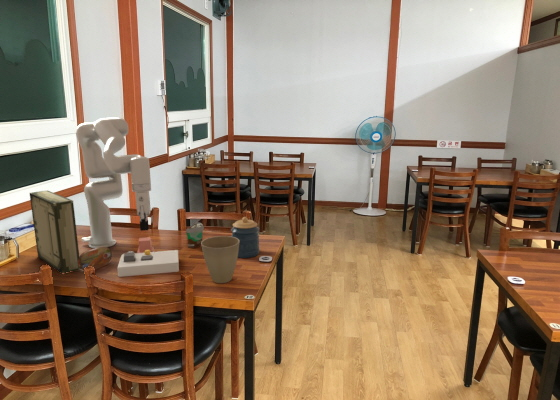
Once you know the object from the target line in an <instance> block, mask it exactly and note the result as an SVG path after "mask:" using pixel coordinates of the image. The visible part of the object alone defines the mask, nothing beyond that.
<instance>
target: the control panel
mask: <svg viewBox="0 0 560 400" xmlns="http://www.w3.org/2000/svg"><path fill="white" fill-rule="evenodd" d="M29 199H30V208H31V215H32V221H33V228H34V229H33V230H34V236H35V238H34V239H35V246H36V249H37V250H36V251H37V258H39V259H40V260H42V261H43V262H44V263H45V264H47V265H48V264H49V266H50V267H51V268H53V269H54V268H55V269H56V270H55V269H54V270H55V271H57V270H58V271H59V272H61V273H66V272H70V271H74V272H77V271H76V270H78V271H82V269H80V268H79V266H78V258H79V256H80V252H79V251H80V250H79V241H78V234H77V233H78V232H77V224H76V214H75V205H74V200H73V199H70V198H68V197H65V196H63V195H60V194H57V193H55V192H53V191H51V190H40V191H35V192H29ZM58 271H57V272H58ZM59 272H58V273H59ZM61 273H60V274H61ZM70 273H71V272H70ZM66 274H67V273H66Z"/></svg>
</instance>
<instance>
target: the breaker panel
mask: <svg viewBox="0 0 560 400" xmlns="http://www.w3.org/2000/svg"><path fill="white" fill-rule="evenodd" d="M132 252H134V251H133V250H129V251H127V253H132ZM124 254H125V253H123V254H121V256H120V259H119V262H118V265H117V276H118V277H121V278H122V277H132V276H141V275H142V276H143V275H153V274H154V275H155V274H156V275H157V274H165V273H177V272H179V271H180V269H179V268H180V266H179V265H180V264H179V250H178V249H174V250H163V251H162V250H160V251H154V252H150V250H145V253H137V252H135V261H134V262H124ZM148 255H152V260H146V261H142V256H148Z"/></svg>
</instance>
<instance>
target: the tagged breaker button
mask: <svg viewBox="0 0 560 400" xmlns="http://www.w3.org/2000/svg"><path fill="white" fill-rule="evenodd" d="M146 260H152V255H148V256H142V261H146Z"/></svg>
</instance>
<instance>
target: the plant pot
mask: <svg viewBox="0 0 560 400" xmlns="http://www.w3.org/2000/svg"><path fill="white" fill-rule="evenodd" d="M231 236H232V235H231ZM231 236H230V235H229V236H228V235H216V236H211V237H207V238H204V239H202V242H201V246H200V247H201V250H202V254H203V258H204V262H205V264H206V268H207V271H208V272H209V275H210V277H211V279H212V282H213V283H217V284H226V283H229V282H230V281H232V279H233V275H234V272H235V269H236V266H237V261H238V258H239V257H238V251H239V239H237V238H235V237H231Z"/></svg>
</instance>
